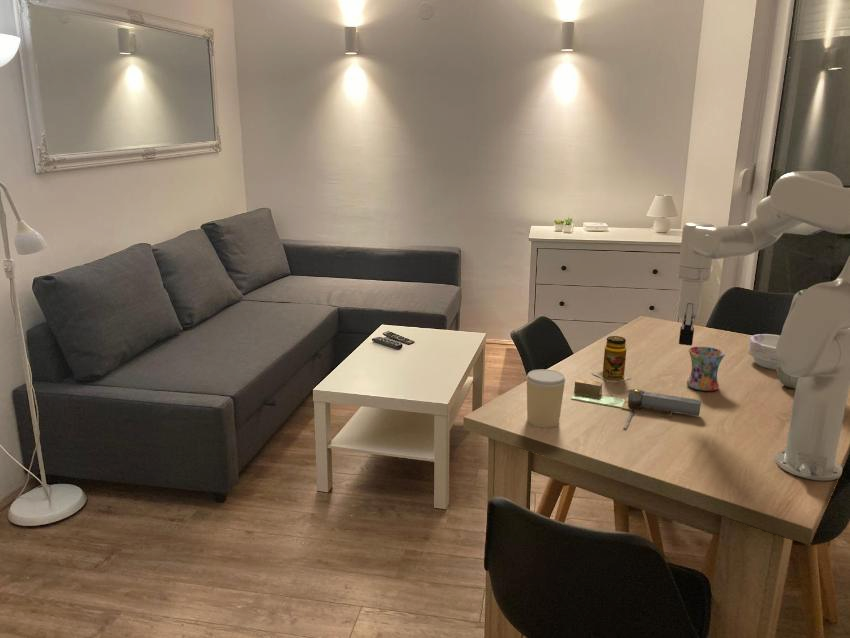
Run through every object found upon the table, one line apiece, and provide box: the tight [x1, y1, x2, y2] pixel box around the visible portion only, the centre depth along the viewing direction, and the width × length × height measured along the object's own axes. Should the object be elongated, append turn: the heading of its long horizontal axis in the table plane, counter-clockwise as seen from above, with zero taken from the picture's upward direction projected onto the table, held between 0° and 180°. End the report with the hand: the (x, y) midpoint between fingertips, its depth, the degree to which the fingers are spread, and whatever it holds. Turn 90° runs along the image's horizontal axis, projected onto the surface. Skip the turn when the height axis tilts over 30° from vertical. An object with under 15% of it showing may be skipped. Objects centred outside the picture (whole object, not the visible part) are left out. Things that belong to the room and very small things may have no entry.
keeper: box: [570, 378, 626, 409], centre depth 187 cm, size 8×14×3 cm, turn 65°
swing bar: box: [627, 388, 702, 417], centre depth 179 cm, size 18×4×4 cm, turn 65°
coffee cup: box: [526, 368, 566, 428], centre depth 171 cm, size 9×9×12 cm
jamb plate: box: [620, 397, 673, 430], centre depth 175 cm, size 20×12×1 cm, turn 155°
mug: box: [686, 346, 726, 392], centre depth 196 cm, size 12×9×11 cm
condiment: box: [592, 335, 630, 384], centre depth 202 cm, size 7×8×12 cm
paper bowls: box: [747, 333, 780, 371], centre depth 214 cm, size 15×15×8 cm
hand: (685, 343), depth 178 cm, fingers closed
